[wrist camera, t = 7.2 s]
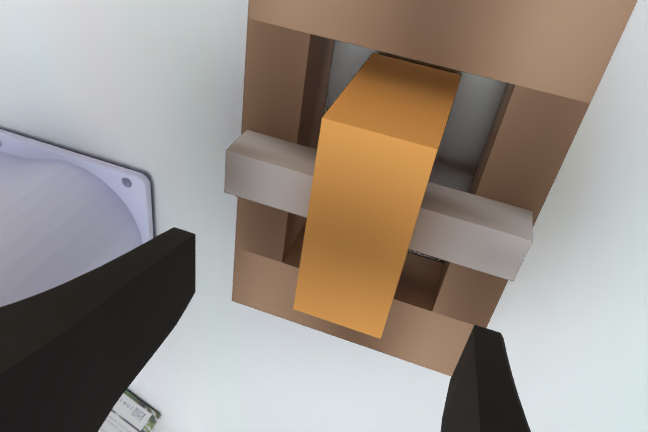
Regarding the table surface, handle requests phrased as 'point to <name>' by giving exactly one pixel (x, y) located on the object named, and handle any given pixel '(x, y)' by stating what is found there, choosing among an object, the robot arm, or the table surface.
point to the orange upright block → (370, 189)
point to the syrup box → (130, 416)
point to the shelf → (506, 165)
